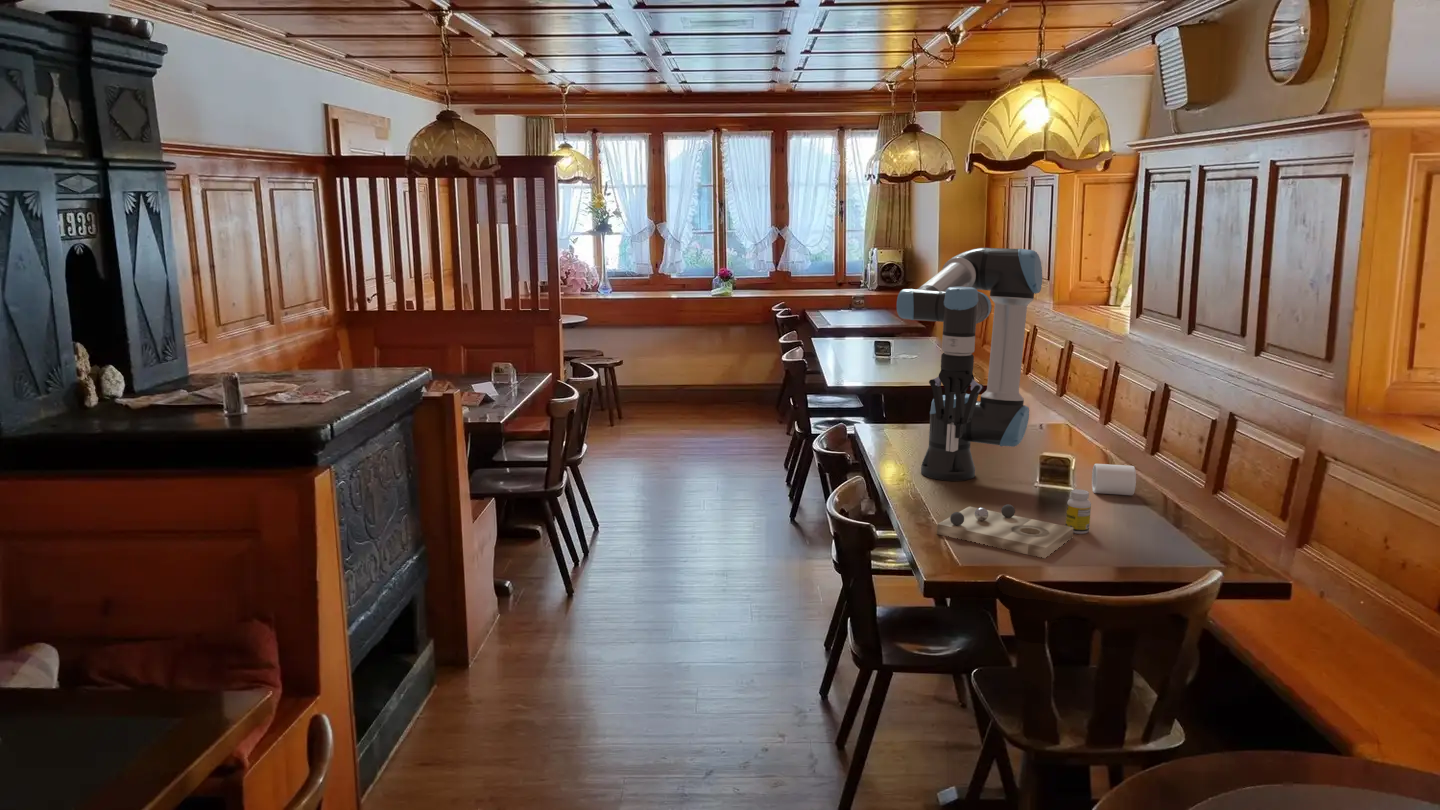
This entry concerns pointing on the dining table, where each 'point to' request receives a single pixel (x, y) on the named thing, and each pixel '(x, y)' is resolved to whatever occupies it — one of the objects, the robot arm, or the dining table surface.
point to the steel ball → (981, 514)
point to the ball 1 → (957, 518)
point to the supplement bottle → (1078, 511)
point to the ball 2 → (1008, 511)
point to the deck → (1008, 532)
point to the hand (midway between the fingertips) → (951, 450)
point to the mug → (1113, 479)
